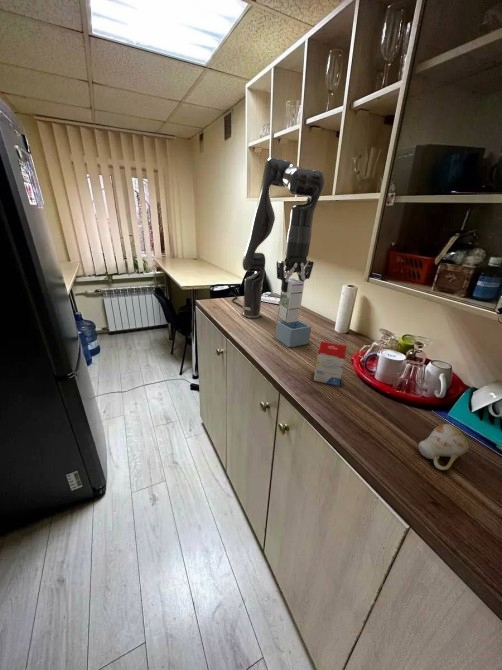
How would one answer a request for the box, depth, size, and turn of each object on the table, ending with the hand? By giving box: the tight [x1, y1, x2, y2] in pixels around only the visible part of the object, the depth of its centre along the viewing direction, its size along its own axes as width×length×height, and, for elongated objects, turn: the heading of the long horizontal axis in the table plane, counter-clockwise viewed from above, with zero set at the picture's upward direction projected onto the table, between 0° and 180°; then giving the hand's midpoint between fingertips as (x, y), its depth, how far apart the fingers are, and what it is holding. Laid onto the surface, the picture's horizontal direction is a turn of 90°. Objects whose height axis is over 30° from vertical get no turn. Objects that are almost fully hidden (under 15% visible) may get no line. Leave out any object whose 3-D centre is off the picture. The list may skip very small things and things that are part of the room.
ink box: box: [313, 340, 348, 387], centre depth 90 cm, size 8×5×15 cm, turn 71°
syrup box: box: [277, 277, 305, 323], centre depth 96 cm, size 6×6×14 cm
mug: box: [418, 423, 469, 471], centre depth 64 cm, size 8×10×10 cm
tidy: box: [274, 319, 312, 348], centre depth 119 cm, size 11×11×8 cm
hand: (291, 291), depth 95 cm, fingers closed on syrup box, 5 cm apart
